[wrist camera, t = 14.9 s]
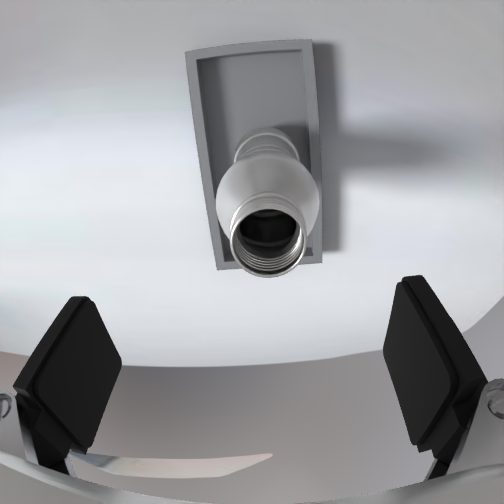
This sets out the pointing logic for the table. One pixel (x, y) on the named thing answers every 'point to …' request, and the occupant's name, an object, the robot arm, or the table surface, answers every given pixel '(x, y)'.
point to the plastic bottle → (267, 203)
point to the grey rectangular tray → (253, 117)
